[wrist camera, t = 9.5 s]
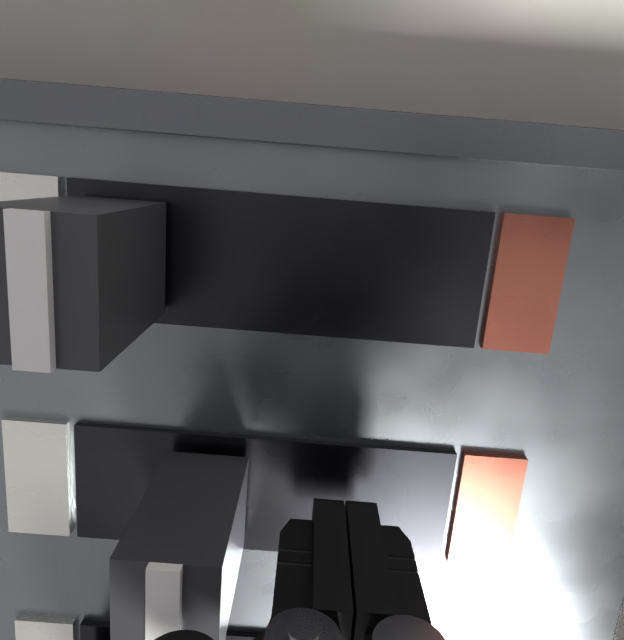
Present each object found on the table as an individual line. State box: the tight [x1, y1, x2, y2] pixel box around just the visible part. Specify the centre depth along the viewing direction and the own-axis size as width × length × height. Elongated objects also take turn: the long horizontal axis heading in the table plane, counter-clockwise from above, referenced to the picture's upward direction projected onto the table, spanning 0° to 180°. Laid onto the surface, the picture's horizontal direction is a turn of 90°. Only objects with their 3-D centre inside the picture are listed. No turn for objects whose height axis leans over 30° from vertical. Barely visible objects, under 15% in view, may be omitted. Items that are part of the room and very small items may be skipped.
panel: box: [0, 78, 624, 640], centre depth 15 cm, size 20×19×3 cm
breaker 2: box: [109, 451, 249, 640], centre depth 12 cm, size 2×2×4 cm
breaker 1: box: [0, 195, 166, 373], centre depth 11 cm, size 2×2×4 cm
